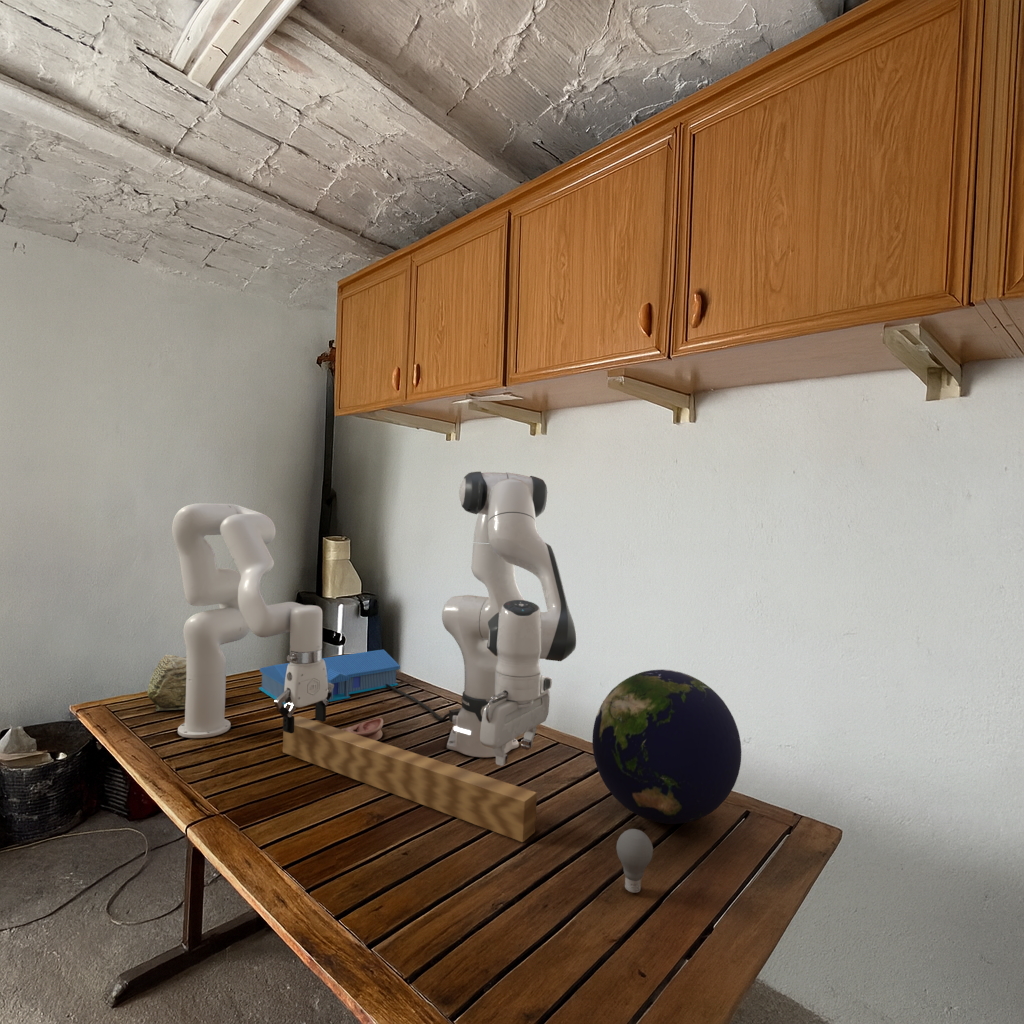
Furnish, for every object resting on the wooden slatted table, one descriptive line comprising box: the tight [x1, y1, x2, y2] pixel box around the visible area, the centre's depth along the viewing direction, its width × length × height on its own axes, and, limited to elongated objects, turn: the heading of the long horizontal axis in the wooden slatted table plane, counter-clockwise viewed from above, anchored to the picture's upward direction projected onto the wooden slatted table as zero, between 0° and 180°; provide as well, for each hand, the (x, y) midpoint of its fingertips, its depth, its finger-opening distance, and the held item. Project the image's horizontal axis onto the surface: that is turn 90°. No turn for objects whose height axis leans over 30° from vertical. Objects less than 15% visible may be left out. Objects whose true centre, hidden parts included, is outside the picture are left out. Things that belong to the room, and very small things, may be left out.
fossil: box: [147, 654, 187, 712], centre depth 185 cm, size 9×18×15 cm, turn 132°
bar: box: [282, 715, 538, 843], centre depth 139 cm, size 69×5×8 cm, turn 58°
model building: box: [258, 649, 401, 706], centre depth 208 cm, size 39×24×10 cm, turn 132°
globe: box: [592, 668, 742, 825], centre depth 132 cm, size 30×30×30 cm
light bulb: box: [615, 828, 654, 894], centre depth 106 cm, size 6×6×10 cm
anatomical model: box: [340, 717, 384, 741], centre depth 167 cm, size 13×4×12 cm
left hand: (304, 726), depth 155 cm, fingers open, 9 cm apart
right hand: (514, 756), depth 123 cm, fingers open, 8 cm apart
